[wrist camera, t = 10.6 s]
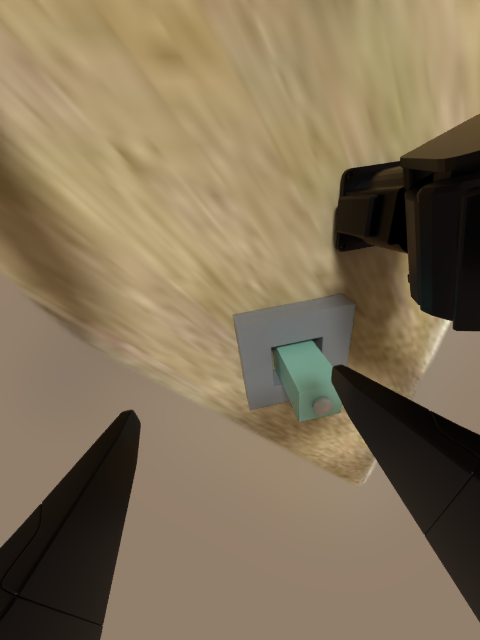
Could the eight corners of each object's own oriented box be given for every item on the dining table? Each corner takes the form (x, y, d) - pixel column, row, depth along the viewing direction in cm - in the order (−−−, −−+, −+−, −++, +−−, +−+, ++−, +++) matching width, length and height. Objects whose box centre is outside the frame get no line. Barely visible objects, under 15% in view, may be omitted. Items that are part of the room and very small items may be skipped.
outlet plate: (341, 293, 23) (356, 303, 21) (332, 375, 29) (343, 389, 27) (232, 315, 22) (235, 327, 20) (246, 394, 28) (250, 410, 26)
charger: (305, 332, 25) (349, 387, 18) (304, 358, 27) (344, 418, 20) (272, 338, 25) (302, 397, 17) (274, 365, 27) (301, 428, 19)
